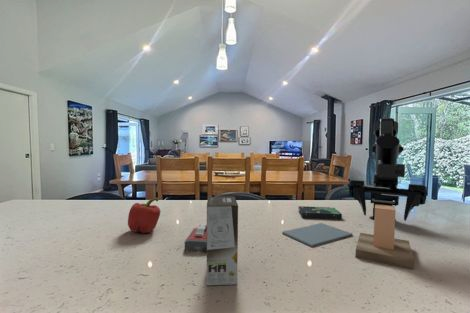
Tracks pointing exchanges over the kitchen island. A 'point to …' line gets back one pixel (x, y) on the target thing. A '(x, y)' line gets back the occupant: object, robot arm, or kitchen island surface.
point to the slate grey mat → (316, 234)
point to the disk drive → (319, 213)
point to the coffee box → (222, 240)
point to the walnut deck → (385, 252)
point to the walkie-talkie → (197, 239)
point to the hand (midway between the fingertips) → (384, 217)
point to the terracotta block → (384, 226)
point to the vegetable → (143, 216)
